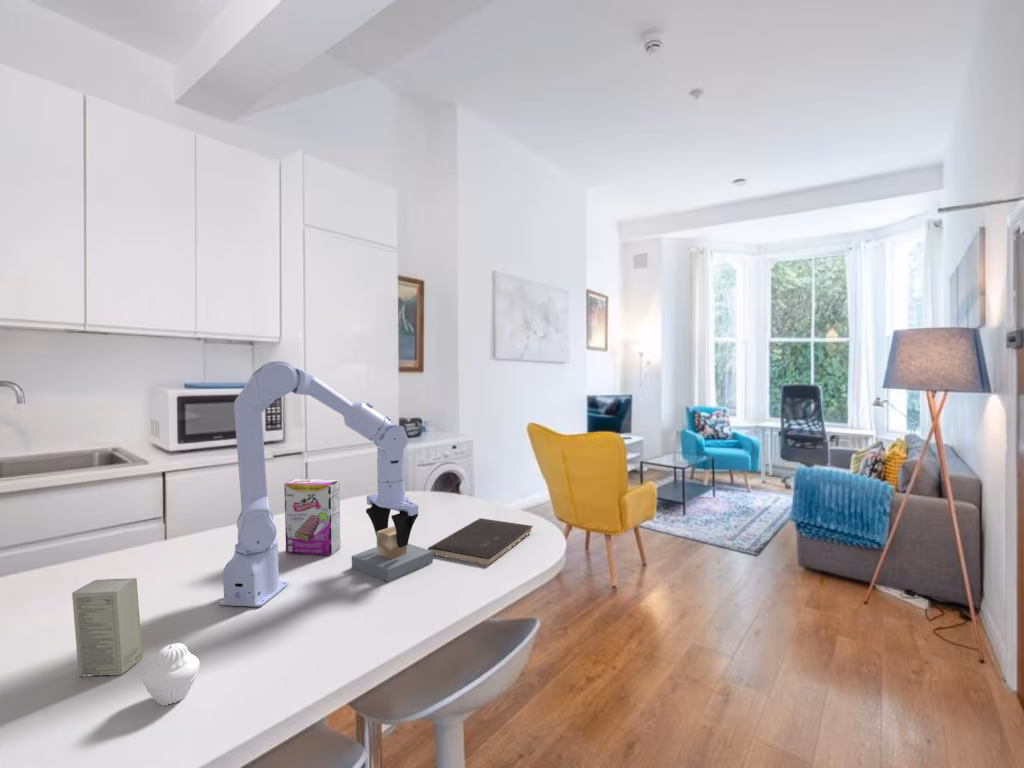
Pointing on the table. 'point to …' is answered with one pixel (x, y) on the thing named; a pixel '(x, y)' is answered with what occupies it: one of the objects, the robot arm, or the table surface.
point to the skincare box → (107, 626)
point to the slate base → (392, 562)
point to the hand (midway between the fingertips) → (392, 542)
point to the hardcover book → (481, 540)
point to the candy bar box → (312, 516)
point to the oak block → (389, 544)
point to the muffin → (171, 674)
